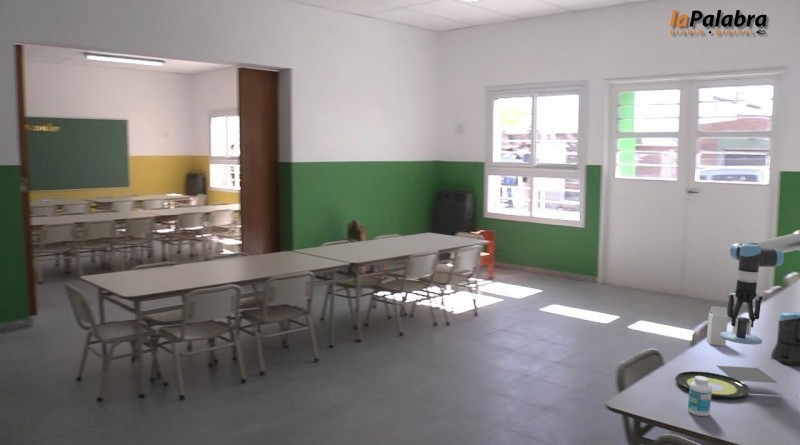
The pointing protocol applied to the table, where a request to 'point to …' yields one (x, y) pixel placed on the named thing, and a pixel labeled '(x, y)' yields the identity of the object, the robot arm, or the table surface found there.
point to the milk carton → (717, 325)
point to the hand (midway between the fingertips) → (741, 333)
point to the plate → (730, 384)
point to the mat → (746, 374)
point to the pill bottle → (700, 396)
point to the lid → (741, 334)
